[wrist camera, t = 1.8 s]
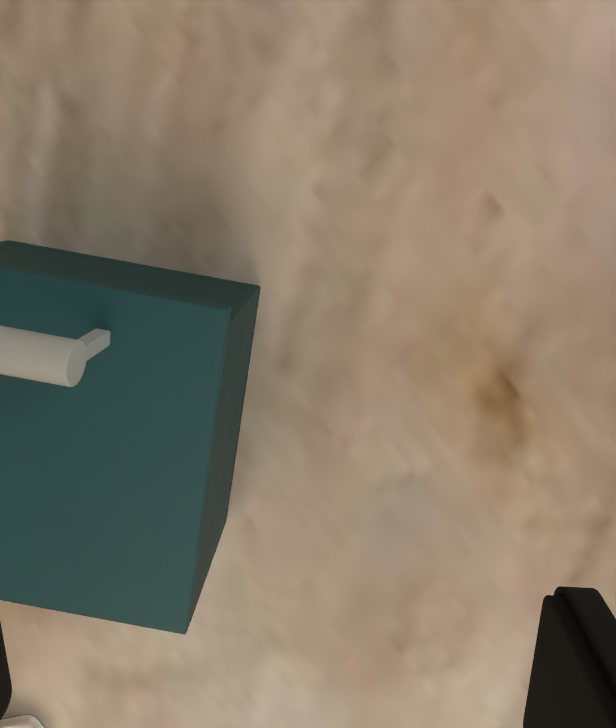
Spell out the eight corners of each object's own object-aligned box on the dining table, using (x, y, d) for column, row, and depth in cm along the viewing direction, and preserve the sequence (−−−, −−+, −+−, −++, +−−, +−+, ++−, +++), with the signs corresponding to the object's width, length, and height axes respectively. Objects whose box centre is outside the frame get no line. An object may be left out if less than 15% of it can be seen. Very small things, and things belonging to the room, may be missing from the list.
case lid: (-116, 242, 26) (-232, 257, 20) (231, 306, 25) (203, 336, 20) (-99, 570, 31) (-188, 647, 26) (189, 624, 31) (158, 712, 26)
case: (7, 240, 35) (-114, 260, 26) (260, 285, 35) (230, 323, 26) (5, 480, 40) (-98, 570, 31) (226, 521, 40) (189, 623, 31)
